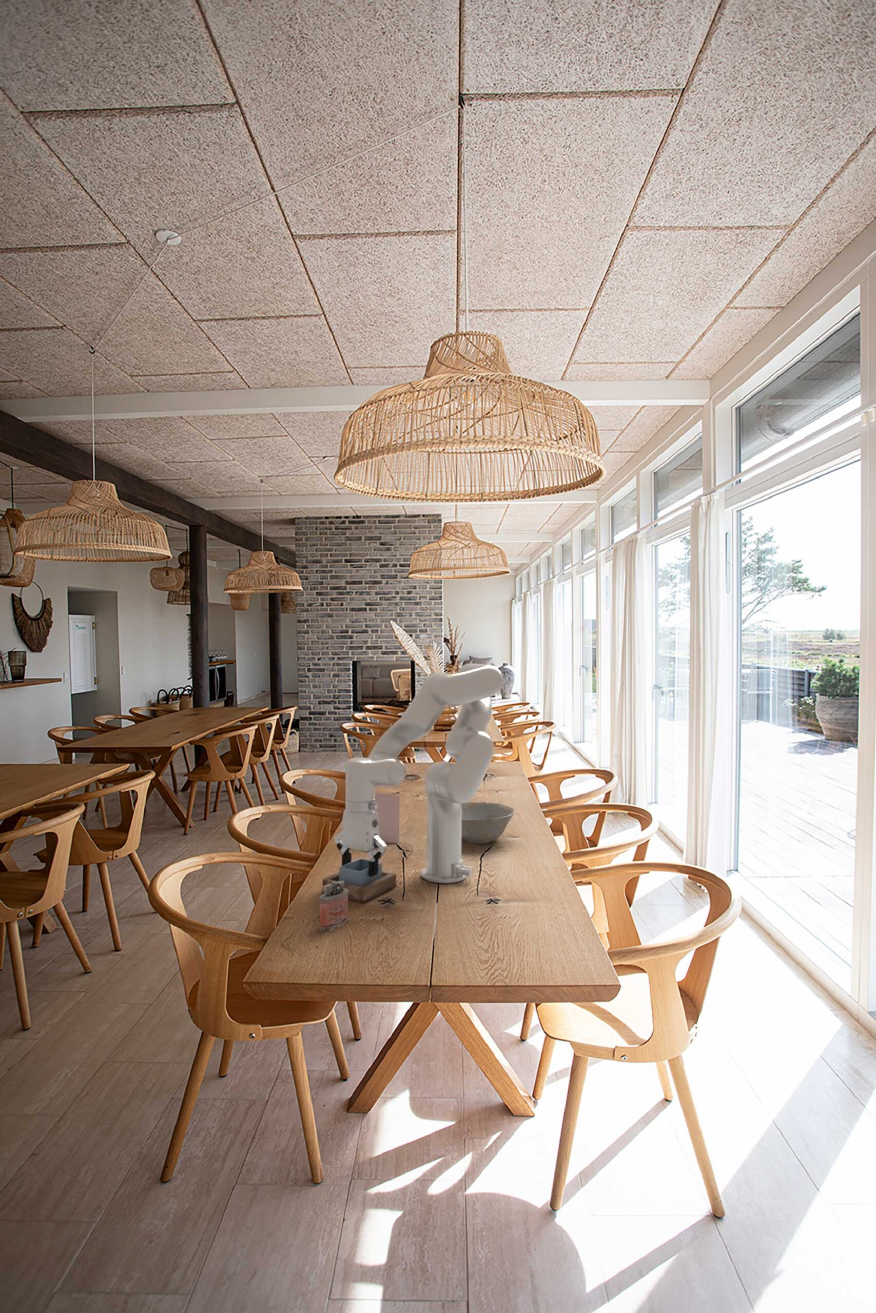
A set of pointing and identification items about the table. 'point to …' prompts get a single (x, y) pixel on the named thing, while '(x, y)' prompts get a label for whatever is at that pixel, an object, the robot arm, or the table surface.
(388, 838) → the greeting card
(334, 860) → the table surface
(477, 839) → the ceramic bowl
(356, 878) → the small crate
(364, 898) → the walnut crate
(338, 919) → the lighter
